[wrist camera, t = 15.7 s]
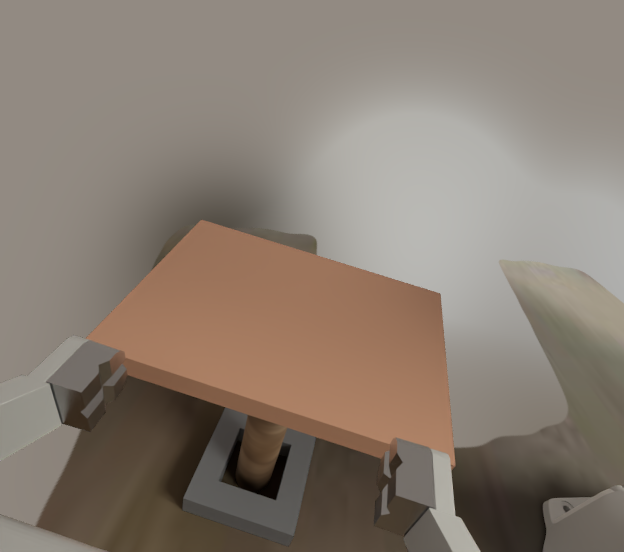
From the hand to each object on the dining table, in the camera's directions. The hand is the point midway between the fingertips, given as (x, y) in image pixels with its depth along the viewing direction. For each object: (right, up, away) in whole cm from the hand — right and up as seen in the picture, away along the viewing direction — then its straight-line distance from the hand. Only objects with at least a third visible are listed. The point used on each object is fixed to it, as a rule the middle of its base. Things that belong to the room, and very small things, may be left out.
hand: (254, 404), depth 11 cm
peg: (-4, -16, +27) cm, 32 cm away
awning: (-4, -15, +28) cm, 32 cm away
